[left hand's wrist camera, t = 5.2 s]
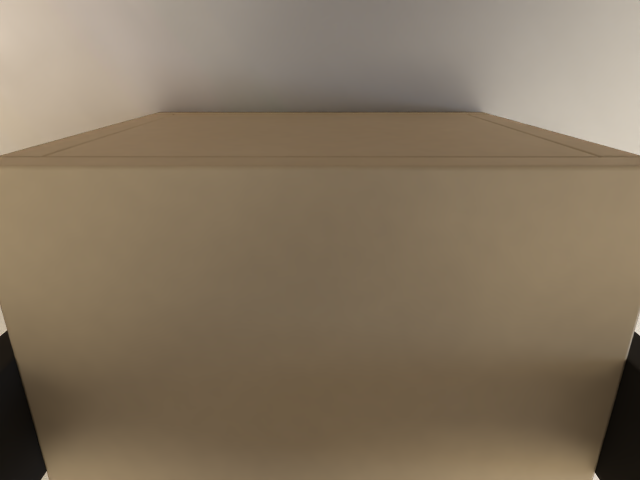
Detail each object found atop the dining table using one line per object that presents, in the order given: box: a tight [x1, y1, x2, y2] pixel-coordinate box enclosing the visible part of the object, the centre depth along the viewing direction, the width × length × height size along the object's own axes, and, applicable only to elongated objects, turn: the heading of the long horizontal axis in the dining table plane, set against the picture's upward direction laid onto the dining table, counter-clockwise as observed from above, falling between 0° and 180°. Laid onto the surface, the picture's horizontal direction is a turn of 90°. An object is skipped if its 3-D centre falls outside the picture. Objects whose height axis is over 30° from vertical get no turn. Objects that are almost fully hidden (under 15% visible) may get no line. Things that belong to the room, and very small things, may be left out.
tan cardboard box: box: [0, 112, 640, 480], centre depth 14 cm, size 17×11×9 cm, turn 0°
